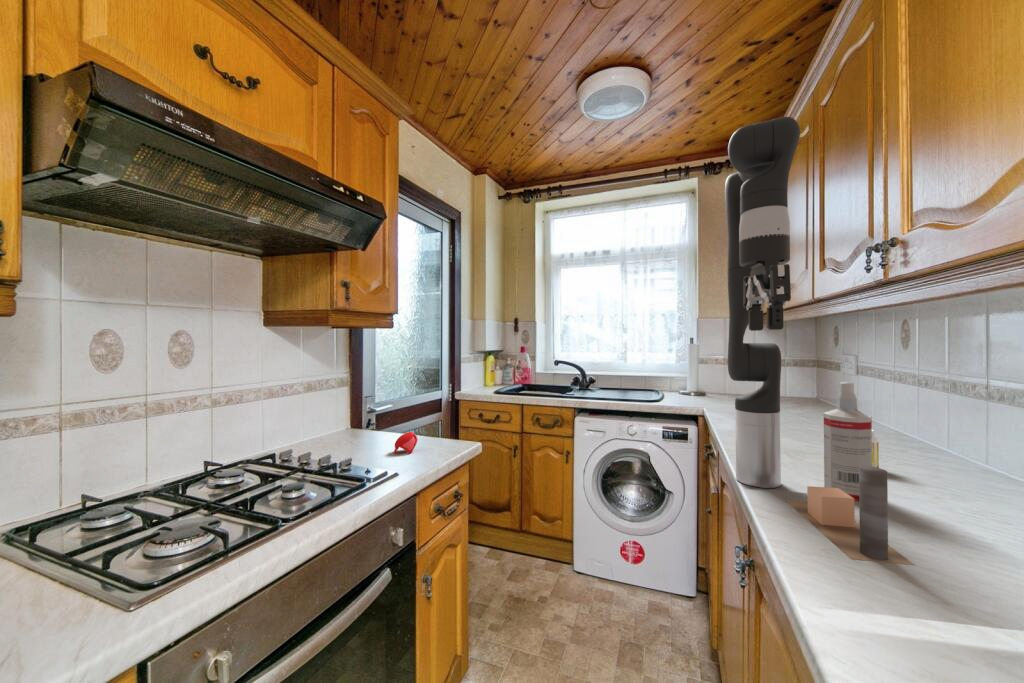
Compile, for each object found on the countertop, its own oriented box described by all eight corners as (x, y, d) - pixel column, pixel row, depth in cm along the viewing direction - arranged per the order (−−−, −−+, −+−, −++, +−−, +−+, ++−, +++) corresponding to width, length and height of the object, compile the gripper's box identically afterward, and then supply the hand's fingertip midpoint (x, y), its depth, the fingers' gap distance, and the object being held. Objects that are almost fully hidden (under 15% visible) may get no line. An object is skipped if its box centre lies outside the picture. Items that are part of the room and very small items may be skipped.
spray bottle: (881, 510, 80) (880, 384, 79) (838, 507, 81) (837, 384, 81) (856, 494, 87) (855, 380, 87) (817, 492, 89) (816, 380, 89)
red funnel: (416, 437, 132) (400, 429, 131) (421, 434, 127) (405, 426, 126) (405, 460, 128) (388, 452, 127) (410, 458, 123) (392, 450, 122)
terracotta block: (807, 512, 76) (807, 486, 76) (838, 514, 75) (838, 488, 75) (821, 524, 71) (821, 496, 71) (854, 527, 70) (854, 498, 70)
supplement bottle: (863, 464, 107) (863, 426, 107) (884, 471, 102) (884, 431, 102) (844, 465, 107) (844, 427, 107) (865, 472, 101) (864, 432, 101)
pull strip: (785, 506, 81) (785, 436, 81) (831, 509, 80) (830, 438, 80) (851, 566, 60) (850, 472, 60) (915, 573, 58) (914, 475, 58)
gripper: (808, 225, 62) (809, 329, 63) (771, 245, 76) (772, 330, 76) (755, 228, 64) (756, 330, 64) (728, 248, 78) (729, 331, 78)
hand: (764, 330), depth 70 cm, fingers open, 8 cm apart
